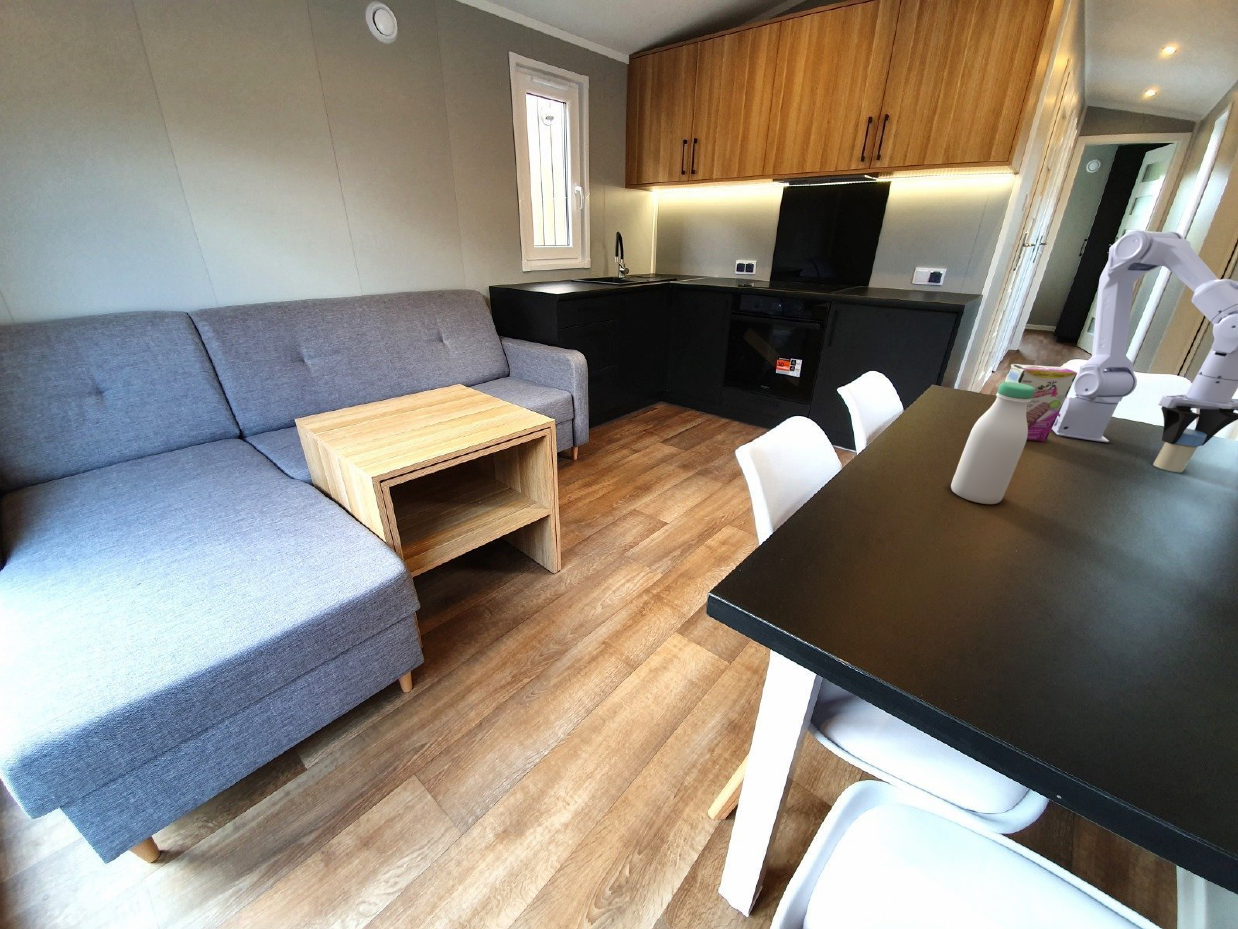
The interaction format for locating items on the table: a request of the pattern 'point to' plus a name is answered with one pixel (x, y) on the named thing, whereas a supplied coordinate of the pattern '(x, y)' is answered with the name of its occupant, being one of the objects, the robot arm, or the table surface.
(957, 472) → the milk bottle
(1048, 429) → the candy bar box
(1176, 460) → the jam jar
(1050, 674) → the table surface
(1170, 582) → the table surface
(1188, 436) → the jam lid
